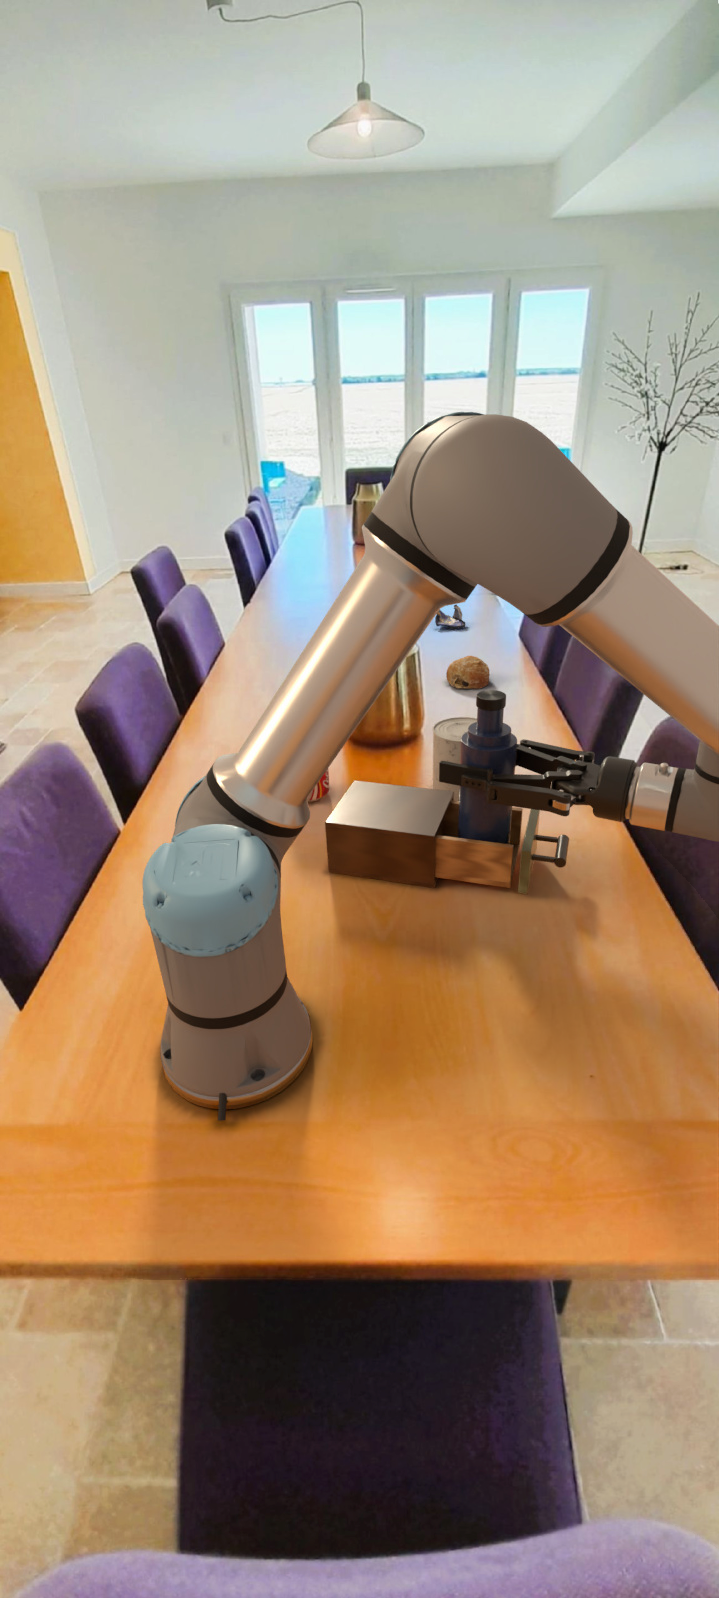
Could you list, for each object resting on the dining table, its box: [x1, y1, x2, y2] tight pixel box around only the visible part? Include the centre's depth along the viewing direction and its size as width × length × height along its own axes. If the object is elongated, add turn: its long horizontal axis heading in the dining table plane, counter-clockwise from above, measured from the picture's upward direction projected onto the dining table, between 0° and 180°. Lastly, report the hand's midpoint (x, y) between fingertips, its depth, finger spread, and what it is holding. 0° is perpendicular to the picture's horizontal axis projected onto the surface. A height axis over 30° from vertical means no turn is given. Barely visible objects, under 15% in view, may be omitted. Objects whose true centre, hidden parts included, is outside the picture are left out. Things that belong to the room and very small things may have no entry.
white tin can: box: [432, 716, 477, 801], centre depth 116 cm, size 10×10×12 cm
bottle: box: [458, 689, 518, 844], centre depth 94 cm, size 7×7×22 cm
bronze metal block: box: [324, 780, 454, 889], centre depth 102 cm, size 15×13×8 cm
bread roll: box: [445, 655, 490, 690], centre depth 165 cm, size 10×10×8 cm
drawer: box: [435, 801, 570, 895], centre depth 98 cm, size 19×12×7 cm, turn 72°
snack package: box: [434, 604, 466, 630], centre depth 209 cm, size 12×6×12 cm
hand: (451, 759), depth 95 cm, fingers closed on bottle, 7 cm apart
